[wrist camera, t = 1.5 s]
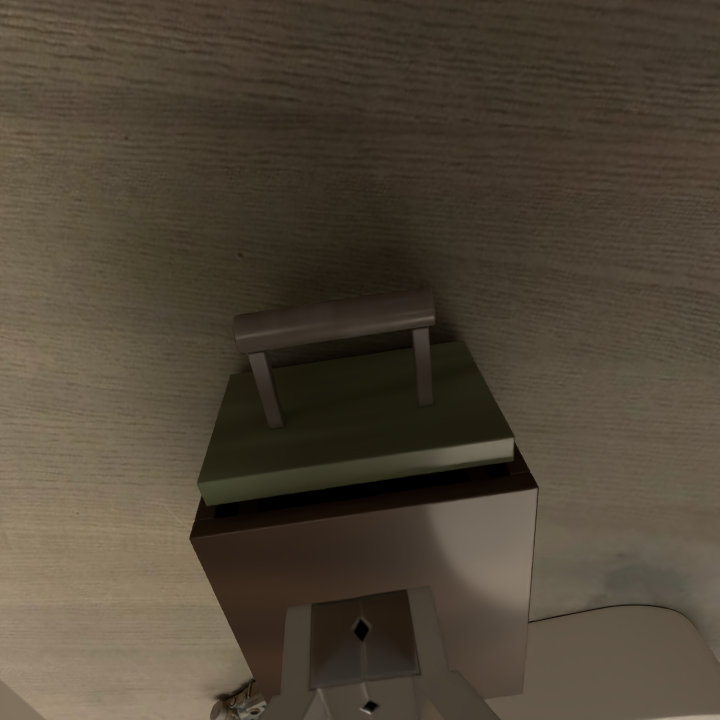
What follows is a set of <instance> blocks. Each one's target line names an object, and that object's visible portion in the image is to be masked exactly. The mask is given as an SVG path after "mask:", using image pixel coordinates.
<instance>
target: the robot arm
mask: <svg viewBox="0 0 720 720" xmlns="http://www.w3.org/2000/svg"><path fill="white" fill-rule="evenodd" d="M259 720H501V719H500V718H499V717H498V716H497V715H496V714H495V713H494V711H493V710H492V709H491V708H490V707H489V706H488V704H487V703H486V702H485V701H484V700H483V699H482V698H481V696H480V695H479V694H478V693H477V692H476V691H475V689H474V688H473V687H472V686H471V685H470V684H469V683H468V681H467V680H466V679H465V678H464V677H463V676H462V674H461V673H460V672H459V671H458V670H451V671H450V668H449V663H448V659H447V654H446V649H445V645H444V640H443V635H442V631H441V626H440V621H439V617H438V612H437V608H436V603H435V598H434V594H433V591H432V588H431V586H426V587H419V588H413V589H408V590H407V591H406V589H403V590H396V591H390V592H384V593H378V594H372V595H366V596H360V597H355V598H348V599H341V600H334V601H327V602H320V603H309V604H303V605H296V606H290V607H288V610H287V614H286V622H285V636H284V650H283V665H282V679H281V694H280V695H276V696H273V697H272V699H271V700H270V702H269V704H268V705H267V707H266V709H265V710H264V712H263V714H262V715H261V717H260V719H259Z"/></svg>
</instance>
